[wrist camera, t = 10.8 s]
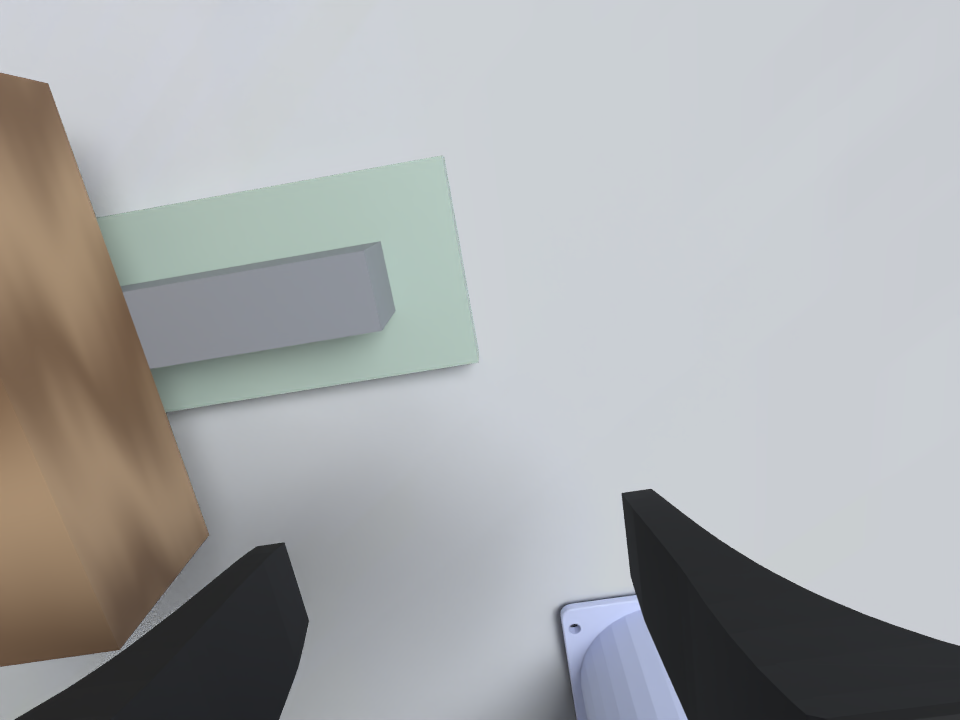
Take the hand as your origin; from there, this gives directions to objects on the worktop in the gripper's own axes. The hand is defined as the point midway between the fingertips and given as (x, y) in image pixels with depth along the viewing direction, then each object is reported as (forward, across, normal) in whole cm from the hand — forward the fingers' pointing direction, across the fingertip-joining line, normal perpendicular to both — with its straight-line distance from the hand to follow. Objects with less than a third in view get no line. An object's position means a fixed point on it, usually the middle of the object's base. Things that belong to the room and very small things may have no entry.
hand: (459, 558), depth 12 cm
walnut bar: (+6, +11, -5) cm, 13 cm away
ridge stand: (+10, +9, -5) cm, 15 cm away
